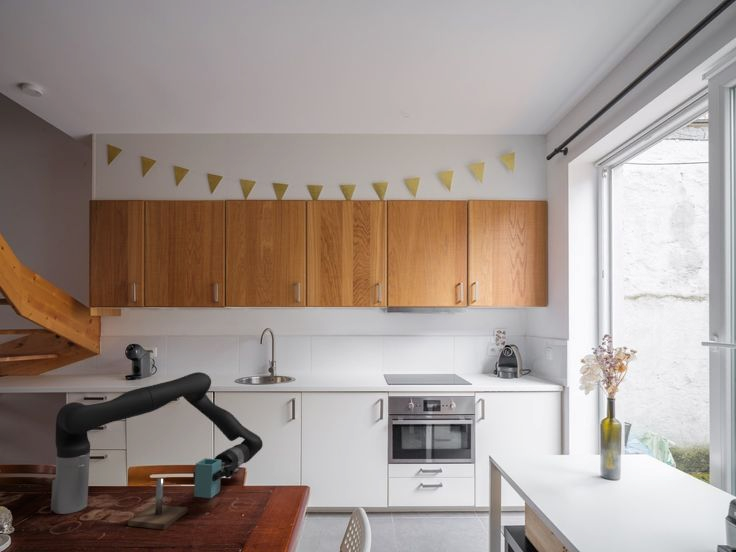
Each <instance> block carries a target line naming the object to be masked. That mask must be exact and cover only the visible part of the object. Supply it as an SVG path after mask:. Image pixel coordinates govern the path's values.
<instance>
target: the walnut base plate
mask: <svg viewBox="0 0 736 552" xmlns="http://www.w3.org/2000/svg"><path fill="white" fill-rule="evenodd" d="M155 505H156V503H154V504H153V503H152V504H151V505H150V506H148V507H147V508H145V509H143V510H142V511H140V512H138V513H137V514H136V515H134V516H133V517H131V518H129V519H128V520H127V526H128V527H139V528H148V529H157V530H166V529H167V528H168V527H170V526H171V525H173V524H174V523H175V522H176V521H177V520H179V519H180V518H181V517H183V516H184V515H186V514H187V513H188V507H185V506H176V505H174V506H173V505H166V504H165V505H164V504H163V505H162V514H161V515H155Z"/></svg>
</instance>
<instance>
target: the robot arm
mask: <svg viewBox="0 0 736 552" xmlns="http://www.w3.org/2000/svg"><path fill="white" fill-rule="evenodd" d="M211 385H212V379H211V376H209V375H208V374H207V373H204V372H201V371H199V372H198V371H197V372H193V373H190V374H186V375H184V376H182V377H179V378H176V379H173V380H169V381H165V382H159V383H156V384H152V385H148V386H143V387H138V388H135V389H132V390H129V391H127V392H124V393H123V394H120V395H119V396H117V397H115V398H113V399H111V400H107V401H103V402H99V403H92V404H84V403H82V402H77V401H74V402H73V401H72V402H68V403H67V404H64V405H63V406H61V408H60V409H59V410H58V413H57V414H56V419H55V447H56V460H55V461H56V462H55V463H56V465H55V478H53V479H52V481H51V482H52V484H51V499H50V501H51V502H50V511H52V512H54V513H55V514H58V515H67V514H73V513H77V512H79V511H83V510H84V509H85V508H87V507H88V495H89V479H90V478H89V477H90V476H89V475H90V462H91V460H90V459H91V442H90V440H89V436H88V432H91V431H92V430H95V429H97V428H100V427H102V426H105V425H107V424H110V423H115V422H117V421H122V420H126V419H130V418H133V417H137V416H142V415H145V414H149V413H151V412H154V411H156V410H159V409H161V408H162V407H165V406H166V405H168V404H170V403H172V402H173V401H175V400H178V399H179V398H182V397H183V398H184V400H185V401H187V402H188V403H189V404H190V405H191V406H193V407H194V408H195V409H197V410H198V411H199V412H200V413H201V414H202V415H204V417H206V418H207V419H208V420H210V421H211V422H212V423H213V424H214V425H215V426H216V427H217V429H218V430H219V431H220V432H222V434H223V435H224V436H225V437H226V438H227V440H228V441H230V442H234V441H236V440H237V439H238V438H239V439H240V438H242V439H243V440H242V441H241V442H240V443H239V444H235V445H233V446H232V447H230V448H226V450H224V451H222V452H221V453H219V454H217V455H216V456H215V457H214V459H218V460H221V469H220V471H217V472H215V473H214V474H213V476H212V481H216V480H218V479H219V478H221V479H223V478H224V477H225V478H226V479H228V478H230V477H233V476H235V475H237V474H238V473H239V468H240V466H242V465H243V464H246V463H249V461H250V460H251V459H252V458H253V457H255V456H256V455H257V454H258V453H259V452H260V451H261V449H262V448H263V445H264V444H263V443H264V442H263V440H262V438H261V436H259V435H258V434H256V433H255V432H253V431H251V430H250V429H249V428H246V427H245V426H244V425H243V424H242V423H240V421H239V420H238V418H236V417H235V416H234V414H232V413H231V412H230V411H228V410H226V409H224V408H222V407H221V406H218V404H217V405H216V404H215V403H214V402H213V401H211V400H210V399H209V397H208V395H207V393H208V392H209V390H210V389H211ZM192 474H193V475H192V477H193V480H195V471H194V472H193V473H192Z"/></svg>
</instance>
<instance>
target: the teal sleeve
mask: <svg viewBox="0 0 736 552" xmlns="http://www.w3.org/2000/svg"><path fill="white" fill-rule="evenodd" d="M220 469H221V460H218V459H215V458H207V457H206V458H203V459H202V460H200V461H198V462H196V463H195V466H194V472H195V479H194V488H193V491H194V492H193V497H195V498H196V497H198V498H205V499H206V498H207V499H212V498H213V497H215V495H217V494H219V493H220V492H221V479H222V478H219V479H218V480H216V481H212V476H213V474H214V473H215V472H217V471H220Z"/></svg>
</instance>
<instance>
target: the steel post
mask: <svg viewBox="0 0 736 552" xmlns="http://www.w3.org/2000/svg"><path fill="white" fill-rule="evenodd" d="M155 483H156V485H155V486H156V488H155V504H156V505H155V515H161V514H162V505H164V504H163V503H164V500H163V499H164V477H157V478H156V482H155Z"/></svg>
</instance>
